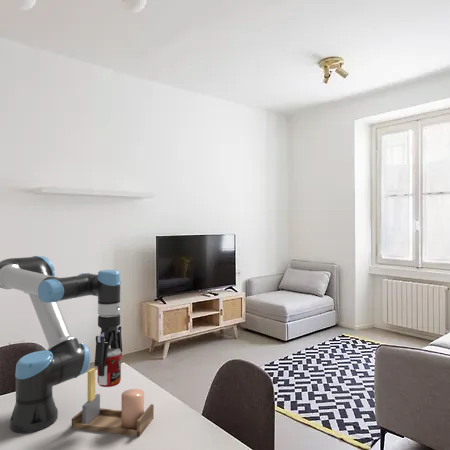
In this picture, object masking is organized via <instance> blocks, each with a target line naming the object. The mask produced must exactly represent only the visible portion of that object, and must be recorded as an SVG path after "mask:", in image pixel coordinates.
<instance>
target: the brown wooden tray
mask: <svg viewBox="0 0 450 450" xmlns="http://www.w3.org/2000/svg"><path fill="white" fill-rule="evenodd" d="M154 406H155V405H154V404H149V406H148V407H147V408H146V410H144V413H143V414H142V415H141V417H140V418H139V419H138V420H137V430H132V429H124V428H122V427H121V410H119V409H111V408H104V407H103V408H102V407H100V414H98V415H97V416H96V417H95V418H94V419H93V420H92V421H91V422H90V423H89V424H84V423H82V410H81V411H79V412H78V413H76V415H74V416H73V417H72V418H71V429H79V430H87V431H93V432H100V433H101V432H102V433H109V434H116V435H123V436H124V435H125V436H131V437H137V438H138V437H141V436H142V435H143V433H144V432H145V430H146V429H147V428H148V427H149V425H150V424H151V422H153V420H154V417H155V416H154V408H155V407H154Z"/></svg>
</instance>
